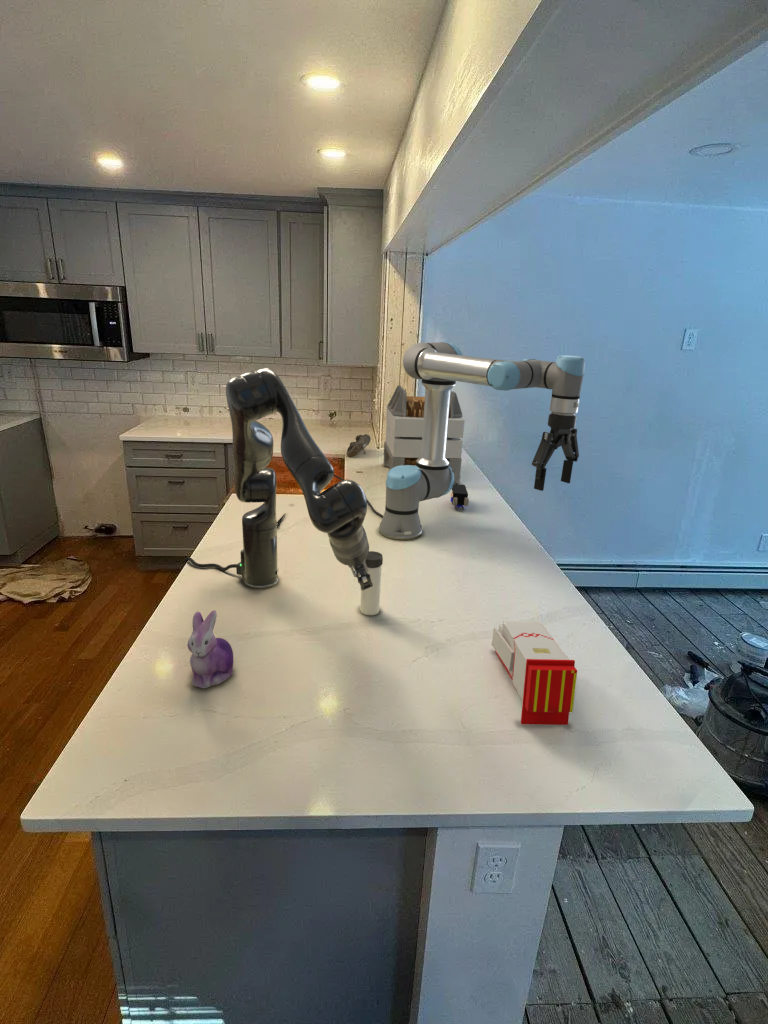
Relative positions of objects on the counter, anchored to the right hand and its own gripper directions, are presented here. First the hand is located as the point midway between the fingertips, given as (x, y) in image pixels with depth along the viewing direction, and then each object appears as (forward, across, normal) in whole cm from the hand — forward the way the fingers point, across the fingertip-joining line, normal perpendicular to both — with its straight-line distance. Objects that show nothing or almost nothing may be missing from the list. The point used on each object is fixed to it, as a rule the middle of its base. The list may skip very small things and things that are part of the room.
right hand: (552, 485), depth 166 cm
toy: (+28, -49, -31) cm, 65 cm away
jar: (+28, -57, +13) cm, 65 cm away
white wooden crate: (+28, +46, +101) cm, 115 cm away
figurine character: (+28, +26, +57) cm, 69 cm away
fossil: (+28, +45, +147) cm, 156 cm away
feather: (+28, -39, +85) cm, 98 cm away
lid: (+13, -57, +13) cm, 60 cm away
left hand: (+10, -68, +5) cm, 69 cm away
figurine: (+28, -101, +11) cm, 106 cm away
